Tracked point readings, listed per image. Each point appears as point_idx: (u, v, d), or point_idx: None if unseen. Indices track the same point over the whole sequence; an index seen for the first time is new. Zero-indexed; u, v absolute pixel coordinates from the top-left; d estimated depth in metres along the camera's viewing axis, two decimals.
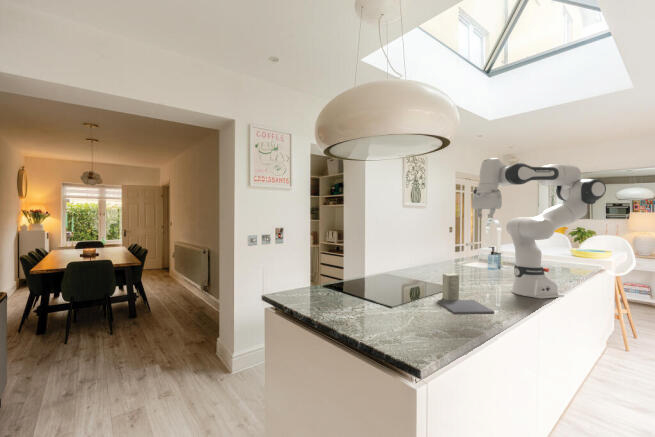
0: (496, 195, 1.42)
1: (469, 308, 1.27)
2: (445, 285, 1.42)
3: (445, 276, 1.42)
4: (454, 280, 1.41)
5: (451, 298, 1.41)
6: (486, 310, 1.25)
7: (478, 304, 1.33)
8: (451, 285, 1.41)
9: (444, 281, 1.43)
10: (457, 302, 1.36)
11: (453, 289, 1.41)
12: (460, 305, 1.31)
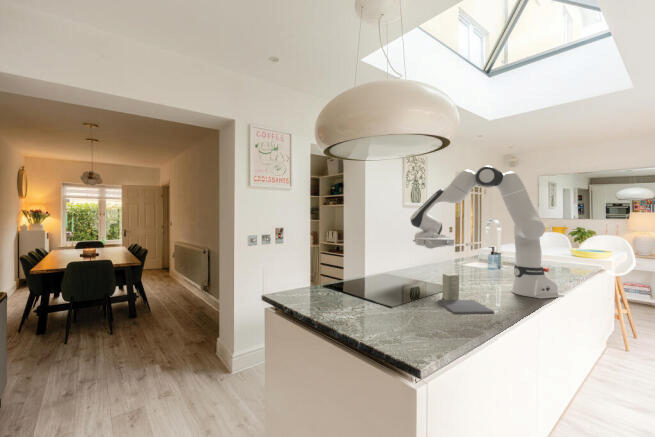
0: (415, 242, 1.65)
1: (469, 308, 1.27)
2: (445, 285, 1.42)
3: (445, 276, 1.42)
4: (454, 280, 1.41)
5: (451, 298, 1.41)
6: (486, 310, 1.25)
7: (478, 304, 1.33)
8: (451, 285, 1.41)
9: (444, 281, 1.43)
10: (457, 302, 1.36)
11: (453, 289, 1.41)
12: (460, 305, 1.31)
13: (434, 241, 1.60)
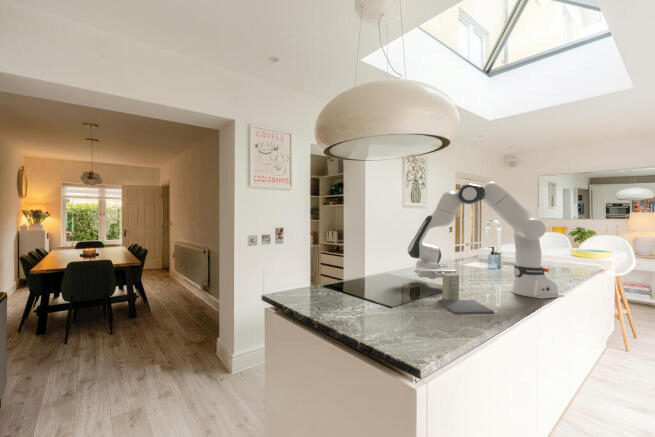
0: None
1: (469, 308, 1.27)
2: (445, 285, 1.42)
3: (445, 276, 1.42)
4: (454, 280, 1.41)
5: (451, 298, 1.41)
6: (486, 310, 1.25)
7: (478, 304, 1.33)
8: (451, 285, 1.41)
9: (444, 281, 1.43)
10: (457, 302, 1.36)
11: (453, 289, 1.41)
12: (460, 305, 1.31)
13: None
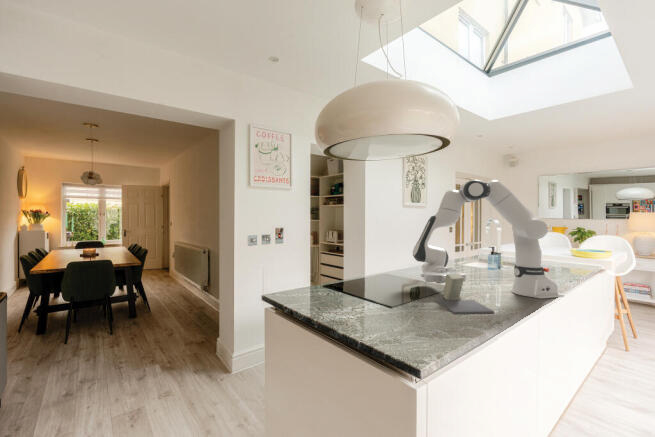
0: (423, 277, 1.53)
1: (469, 308, 1.27)
2: (448, 286, 1.40)
3: (449, 278, 1.39)
4: (458, 283, 1.38)
5: (451, 298, 1.41)
6: (486, 310, 1.25)
7: (478, 304, 1.33)
8: (454, 287, 1.39)
9: (447, 282, 1.40)
10: (457, 302, 1.36)
11: (455, 291, 1.40)
12: (460, 305, 1.31)
13: None
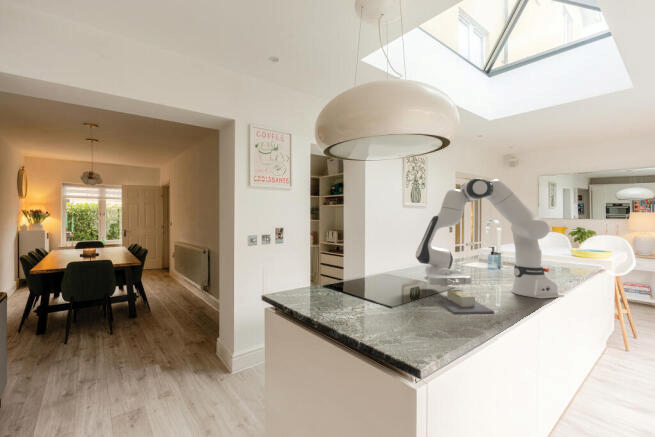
0: (427, 280, 1.48)
1: (469, 308, 1.27)
2: (455, 300, 1.34)
3: (460, 302, 1.30)
4: None
5: None
6: (486, 310, 1.25)
7: (478, 304, 1.33)
8: None
9: (457, 299, 1.33)
10: None
11: None
12: None
13: None
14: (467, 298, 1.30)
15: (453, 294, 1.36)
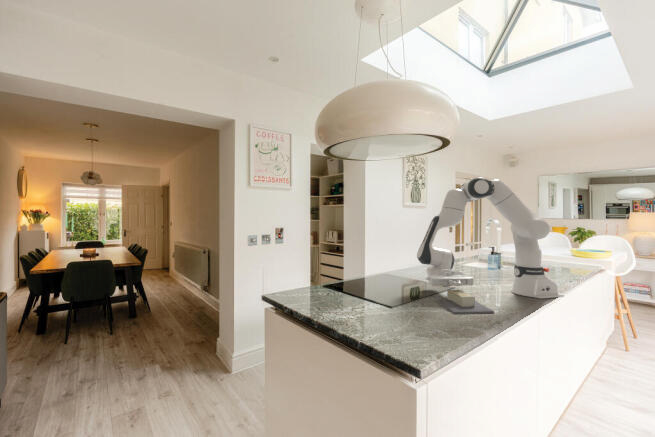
0: (429, 281, 1.46)
1: (469, 308, 1.27)
2: (455, 300, 1.34)
3: (460, 302, 1.30)
4: None
5: None
6: (486, 310, 1.25)
7: (478, 304, 1.33)
8: None
9: (457, 299, 1.33)
10: None
11: None
12: None
13: None
14: (467, 298, 1.30)
15: (453, 294, 1.36)
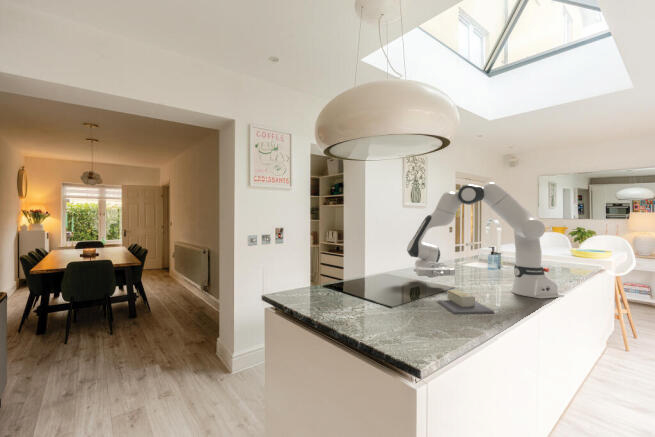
0: (416, 272, 1.65)
1: (469, 308, 1.27)
2: (455, 300, 1.34)
3: (460, 302, 1.30)
4: None
5: None
6: (486, 310, 1.25)
7: (478, 304, 1.33)
8: None
9: (457, 299, 1.33)
10: None
11: None
12: None
13: None
14: (467, 298, 1.30)
15: (453, 294, 1.36)
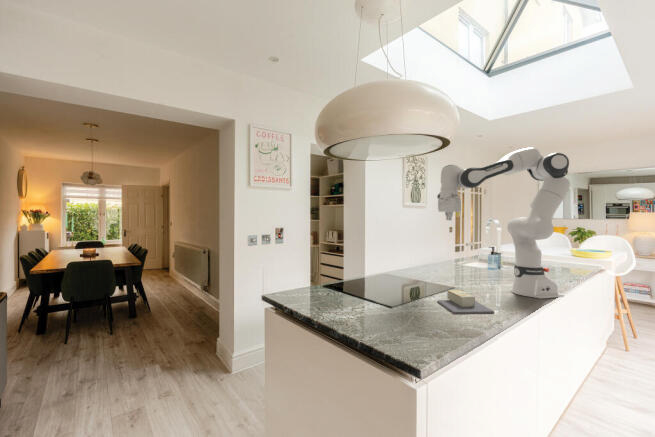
0: (455, 200, 1.53)
1: (469, 308, 1.27)
2: (455, 300, 1.34)
3: (460, 302, 1.30)
4: None
5: None
6: (486, 310, 1.25)
7: (478, 304, 1.33)
8: None
9: (457, 299, 1.33)
10: None
11: None
12: None
13: None
14: (467, 298, 1.30)
15: (453, 294, 1.36)
